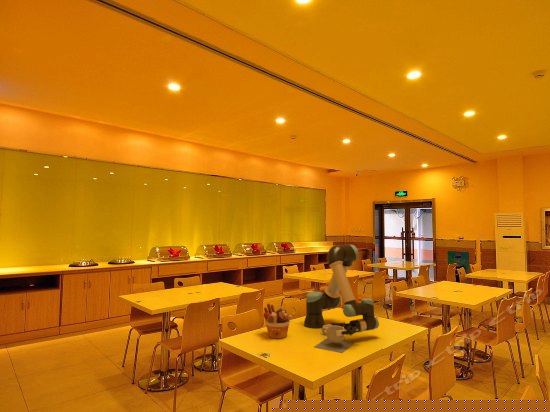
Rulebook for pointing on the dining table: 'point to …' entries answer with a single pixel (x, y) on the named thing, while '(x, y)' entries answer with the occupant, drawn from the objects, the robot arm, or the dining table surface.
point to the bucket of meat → (276, 322)
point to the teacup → (333, 333)
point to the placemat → (334, 345)
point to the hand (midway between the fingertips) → (329, 330)
